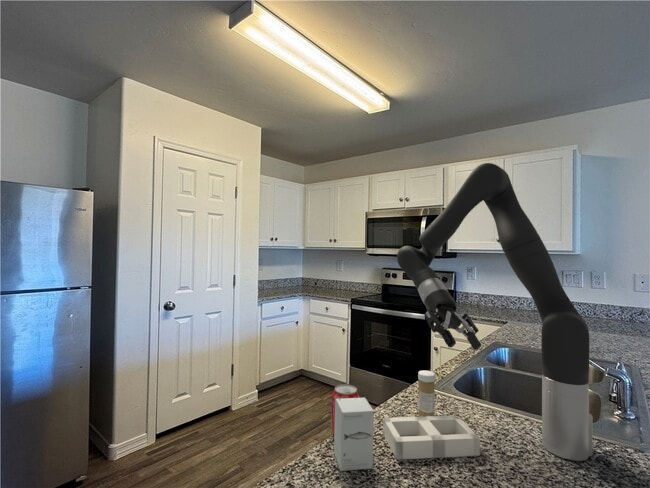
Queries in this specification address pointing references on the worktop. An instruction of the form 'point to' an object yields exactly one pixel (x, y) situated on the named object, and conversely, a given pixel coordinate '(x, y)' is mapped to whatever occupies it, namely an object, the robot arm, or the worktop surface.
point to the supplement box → (353, 434)
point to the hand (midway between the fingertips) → (465, 346)
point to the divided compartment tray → (430, 437)
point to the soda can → (341, 393)
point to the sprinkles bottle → (426, 393)
